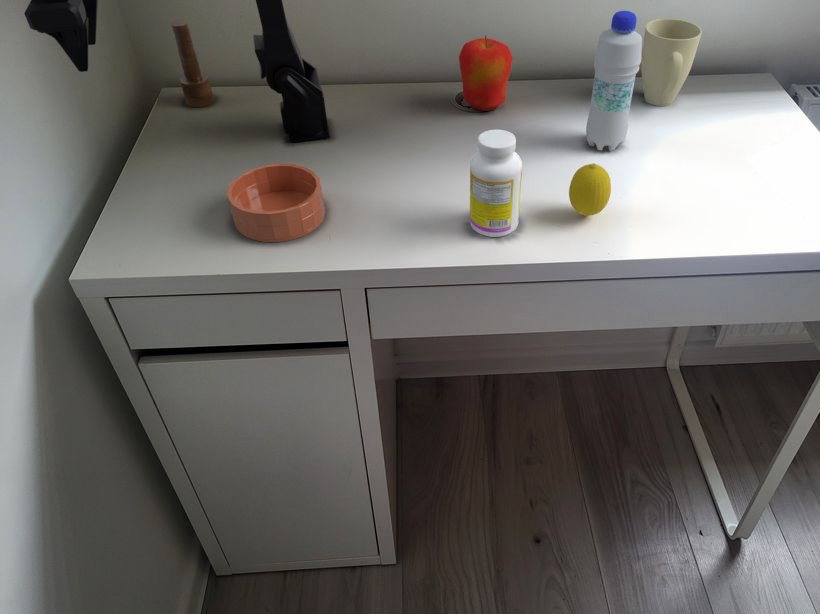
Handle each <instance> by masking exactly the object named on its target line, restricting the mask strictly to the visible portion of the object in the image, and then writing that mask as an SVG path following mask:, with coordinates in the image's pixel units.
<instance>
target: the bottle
mask: <svg viewBox="0 0 820 614" xmlns="http://www.w3.org/2000/svg"><path fill="white" fill-rule="evenodd" d="M636 27H637V16H636V14H635V13H634V12H632V11H631V10H630V11H629V10H619V11H617V12H615V13H613V16H612V18H611V24H610V28H608V29H606V30H604V31H602V32H601V34H600V35H599V39H598V41H597V47H596V49H595V53H594V55H593V56H594V63H593V68H594V78H593V85H592V91H591V92H592V93H591V100H590V107H589V111H588V116H587V121H586V128H585V133H586V134H585V135H586V141H587V144H588V145H589V146H590V147H595V146H596V149H597V150H598V151H603V150H604V147H605V146H608V151H610V152H611V151H614V150H615V149H616V148H620V147H621V146H623V144H624V142H625V140H626V137H627V133H628V127H629V118H630V109H631V104H632V98H633V94H634V93H633V92H634V87H635V82H636V81H635V80H636V77H637V76H636V75H637V74H638V72H639V71H640V66H641V65H640V64H641V61H642V51H643V37H642V36H641V34H640V33H639V32H637V31H636Z"/></svg>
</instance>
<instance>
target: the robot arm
mask: <svg viewBox="0 0 820 614" xmlns="http://www.w3.org/2000/svg"><path fill="white" fill-rule="evenodd" d="M255 4H256V8H257V13H258V16H259V20H260V25H261V34H253V35H252V37H253V47H254V53H255V55H256V56H255V57H257V60H258V63H259V72H260V78H261V79H262V80H264V79H266V82H267V85H268V87H269V88H270V89H271V90H272V91H274V92H276V93H277V94H280V95H281V101H280V102H279V110H280V115H281V121H282V124H283V125H282V126H283V132H284V134H286V135H287V136H288V137H287V138H288V141H289V142H290V143H296V142H305V141H314V140H323V139H330V138H331V131H330V127H329V124H328V118H327V111H326V103H325V97H324V92H323V88H322V85H321V81H320V76H319V73H318V69H317V68H316V67H315V66H314V65H312V64H311V63H310V62H309V61H307V60H306V59H304V58H303V57H302V54H301V50H300V48H299V45H298V42H297V41H296V38H295V36H294V33H293V31H292V29H291V26H290V25H289V22H288V20H287V16H286V12H285V8H284V2H283V0H255ZM98 6H99V0H30V1H29V3H28V4H27V7H26V9H25V10H24V13H23V15H24V16H25V19H26V21H27V24H28V26H29V28H30V30H33V31H36V32H38V33H40V34H46V35H48V36H49V37H52V38H53V39H54V40H55V41H56V42H57V43H58V45H59V46H60V47H61V48H62V50H63V52H64V53H65V55H67V57H68V58H69V59H70V61H71V62H72V64H73V66H74V67H76V69H77V70H78V72H80V73H82V72H88V71H89V46H93V45H96V43H97V25H98V24H97V23H98Z"/></svg>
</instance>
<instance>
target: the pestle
mask: <svg viewBox="0 0 820 614" xmlns="http://www.w3.org/2000/svg"><path fill="white" fill-rule="evenodd" d="M189 26H190V25H189V22H188V21H187V20H186V19H176V20H173V21H171V22H170V28H171V31H172V35H173V39H174V42H175V46H176V49H177V52H178V56H179V60H180V63H181V67H182V70H183V74H184V75H182V76H181V77H180V78H179V83H180V86H181V90H182V94H183V97H184V100H185V103H186V105H187V106H188V107H191V108H203V107H207V106H209V105H211V104H213V103H214V102H215V97H214V94H213V90H212V86H211V82H210V78H209V75H208V74H207V73H204V72H201V68H200V64H199V60H198V57H197V53H196V50H195V49H196V48H195V45H194V41H193V38H192V33H191V30H190V27H189Z"/></svg>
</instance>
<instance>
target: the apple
mask: <svg viewBox="0 0 820 614" xmlns="http://www.w3.org/2000/svg"><path fill="white" fill-rule="evenodd" d="M458 63H459V70H460V75H461V80H462V98H463V100H464V101H465V102H466V103H467V104H468V105H469V106H470V107H471V108H474V109H475V110H478V111H492V110H495V109H497V108H499V107H500V106H501V105H502V104H504V103H505V101H506V97H507V90H508V82H509V78H510V74H511V71H512V65H513V55H512V52H511V50H510V47H509V46H508V45H507V44H506V43H503V42H501V41H499V40H497V39H494V38H488V37H487V35H486V34H485V35H484V37H480V38H475V39H473V40H470V41H467V42H465V43H464V44H463V46H462V48H461V51H460V53H459V55H458Z"/></svg>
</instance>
